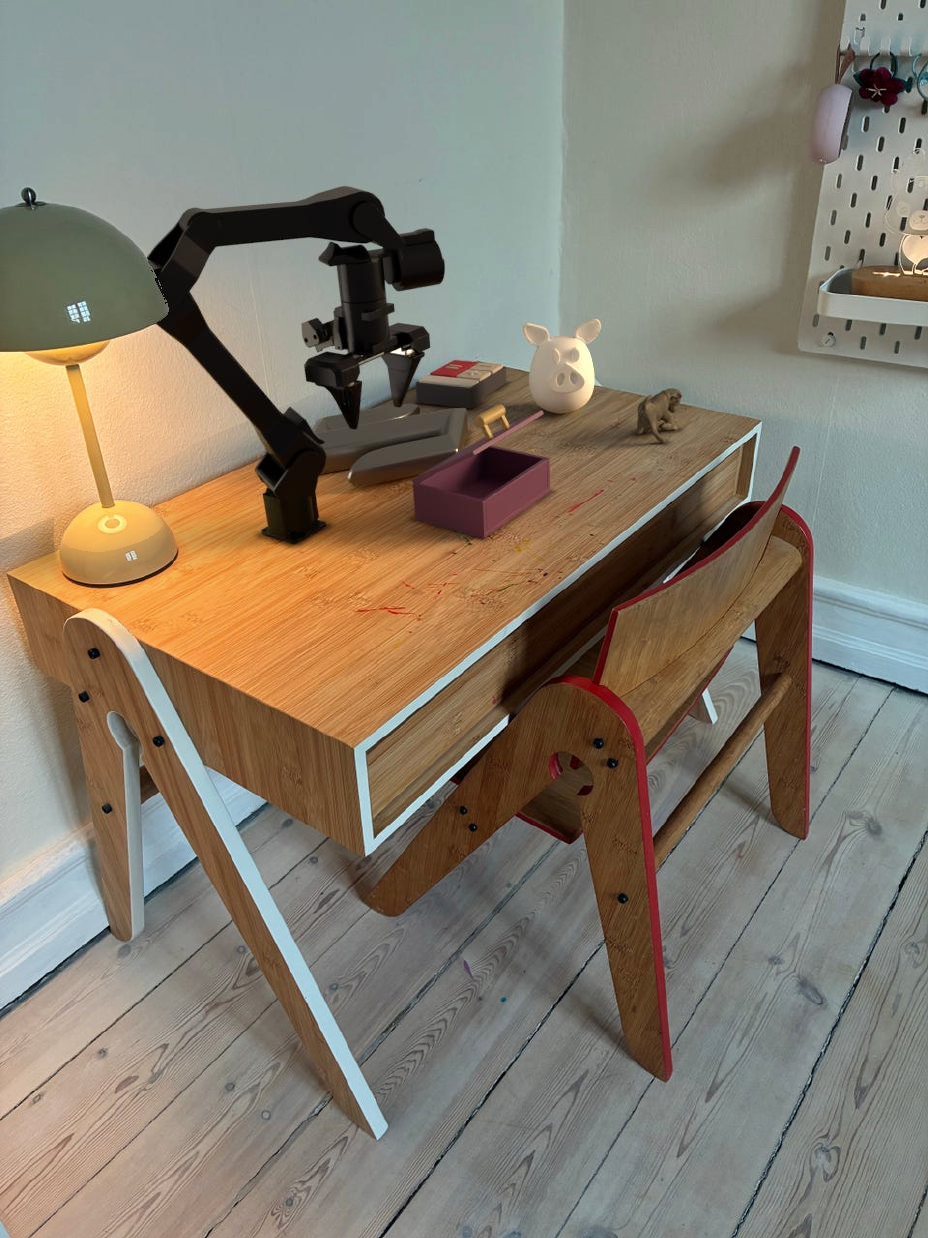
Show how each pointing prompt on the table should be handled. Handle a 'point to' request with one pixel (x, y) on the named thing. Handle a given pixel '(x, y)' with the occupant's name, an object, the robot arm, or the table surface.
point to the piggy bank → (561, 367)
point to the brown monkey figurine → (658, 412)
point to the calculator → (460, 383)
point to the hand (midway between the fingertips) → (376, 417)
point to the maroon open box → (482, 491)
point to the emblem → (391, 442)
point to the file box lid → (485, 442)
